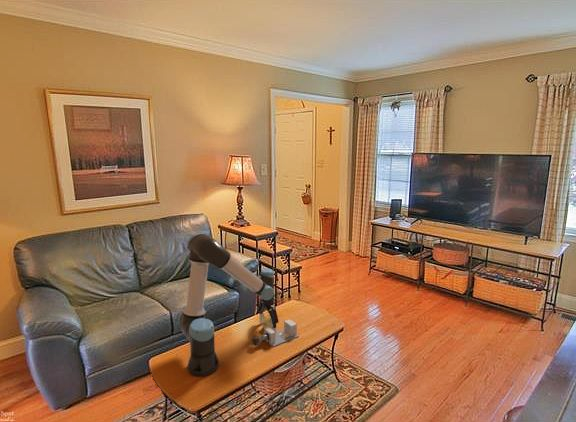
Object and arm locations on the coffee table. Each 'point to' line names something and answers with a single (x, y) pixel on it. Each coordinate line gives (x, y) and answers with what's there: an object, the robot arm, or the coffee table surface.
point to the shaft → (260, 339)
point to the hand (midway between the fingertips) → (267, 327)
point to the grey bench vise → (282, 333)
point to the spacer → (267, 322)
